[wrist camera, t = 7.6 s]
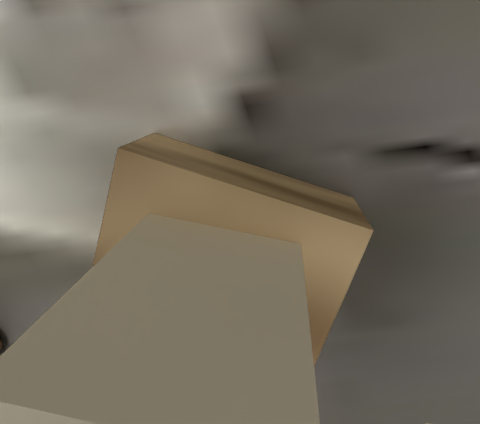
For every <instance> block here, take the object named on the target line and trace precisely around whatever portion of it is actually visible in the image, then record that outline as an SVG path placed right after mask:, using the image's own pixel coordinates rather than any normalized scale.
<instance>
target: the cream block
mask: <svg viewBox="0 0 480 424" xmlns="http://www.w3.org/2000/svg"><path fill="white" fill-rule="evenodd" d="M0 424H320V421H319V411H318V401H317V392H316V382H315V372H314V363H313V353H312V343H311V334H310V324H309V314H308V305H307V295H306V285H305V276H304V266H303V256H302V247H301V244H299V243H294V242H289V241H284V240H279V239H274V238H269V237H264V236H259V235H254V234H249V233H244V232H239V231H235V230H230V229H225V228H220V227H215V226H210V225H205V224H200V223H195V222H190V221H185V220H180V219H175V218H170V217H165V216H160V215H155V214H150V213H148V214H147V215H146V216H145V217H144V218H143V219H142V220H141V221H140V222H139V223H138V224H137V225H136V226H135V227H134V228H133V229H132V230H131V231H130V232H129V233H128V234H127V235H125V236H124V237H123V238H122V239H121V240H120V241H119V242H118V243H117V244H116V245H115V246H114V247H113V248H112V249H111V250H110V251H109V252H108V253H107V254H106V255H105V256H104V257H103V258H102V259H101V260H99V261H98V262H97V263H96V264H95V265H94V266H93V267H92V268H91V269H90V270H89V271H88V272H87V273H86V274H85V275H84V276H83V277H82V278H81V279H80V280H79V281H78V282H77V283H76V284H75V285H74V286H72V287H71V288H70V289H69V290H68V291H67V292H66V293H65V294H64V295H63V296H62V297H61V298H60V299H59V300H58V301H57V302H56V303H55V304H54V305H53V306H52V307H51V308H50V309H49V310H48V311H47V312H45V313H44V314H43V315H42V316H41V317H40V318H39V319H38V320H37V321H36V322H35V323H34V324H33V325H32V326H31V327H30V328H29V329H28V330H27V331H26V332H25V333H24V334H23V335H22V336H21V337H19V338H18V339H17V340H16V341H15V342H14V343H13V344H12V345H11V346H10V347H9V348H8V349H7V350H6V351H5V352H4V353H3V354H2V355H1V356H0Z"/></svg>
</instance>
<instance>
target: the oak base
mask: <svg viewBox="0 0 480 424" xmlns="http://www.w3.org/2000/svg"><path fill="white" fill-rule="evenodd" d="M148 213H150V214H155V215H160V216H165V217H170V218H175V219H180V220H185V221H190V222H195V223H200V224H205V225H210V226H215V227H220V228H225V229H230V230H235V231H239V232H244V233H249V234H254V235H259V236H264V237H269V238H274V239H279V240H284V241H289V242H294V243H299V244H301V247H302V256H303V266H304V276H305V285H306V295H307V305H308V314H309V324H310V334H311V343H312V353H313V363H314V365H315V363H316V361H317V359H318V356H319V354H320V352H321V349H322V347H323V345H324V343H325V340H326V338H327V336H328V333H329V331H330V329H331V327H332V324H333V322H334V320H335V317H336V315H337V313H338V311H339V308H340V306H341V304H342V302H343V299H344V297H345V295H346V292H347V290H348V288H349V286H350V283H351V281H352V279H353V276H354V274H355V272H356V270H357V267H358V265H359V263H360V260H361V258H362V256H363V254H364V251H365V249H366V247H367V244H368V242H369V240H370V238H371V235H372V233H373V231H374V230H373V229H372V227H371V226H370V224H369V222H368V221H367V219H366V217H365V216H364V214H363V213H362V211H361V209H360V208H359V206H358V204H357V203H356V201H355V200H354V198H353V197H350V196H347V195H344V194H341V193H338V192H335V191H332V190H328V189H325V188H322V187H319V186H316V185H313V184H310V183H307V182H304V181H301V180H298V179H294V178H291V177H288V176H285V175H282V174H279V173H276V172H273V171H270V170H267V169H264V168H260V167H257V166H254V165H251V164H248V163H245V162H242V161H239V160H236V159H233V158H230V157H226V156H223V155H220V154H217V153H214V152H211V151H208V150H205V149H202V148H199V147H196V146H192V145H189V144H186V143H183V142H180V141H177V140H174V139H171V138H168V137H165V136H162V135H158V134H155V133H153V134H151V135H148V136H146V137H143V138H141V139H139V140H136V141H134V142H131V143H129V144H127V145H124V146H122V147H119V148H118V150H117V155H116V160H115V164H114V169H113V174H112V178H111V183H110V188H109V192H108V197H107V202H106V206H105V211H104V216H103V220H102V225H101V230H100V234H99V239H98V244H97V248H96V253H95V258H94V262H93V266H94V265H95V264H96V263H97V262H98V261H99V260H101V259H102V258H103V257H104V256H105V255H106V254H107V253H108V252H109V251H110V250H111V249H112V248H113V247H114V246H115V245H116V244H117V243H118V242H119V241H120V240H121V239H122V238H123V237H124V236H125V235H127V234H128V233H129V232H130V231H131V230H132V229H133V228H134V227H135V226H136V225H137V224H138V223H139V222H140V221H141V220H142V219H143V218H144V217H145V216H146V215H147V214H148Z"/></svg>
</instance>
